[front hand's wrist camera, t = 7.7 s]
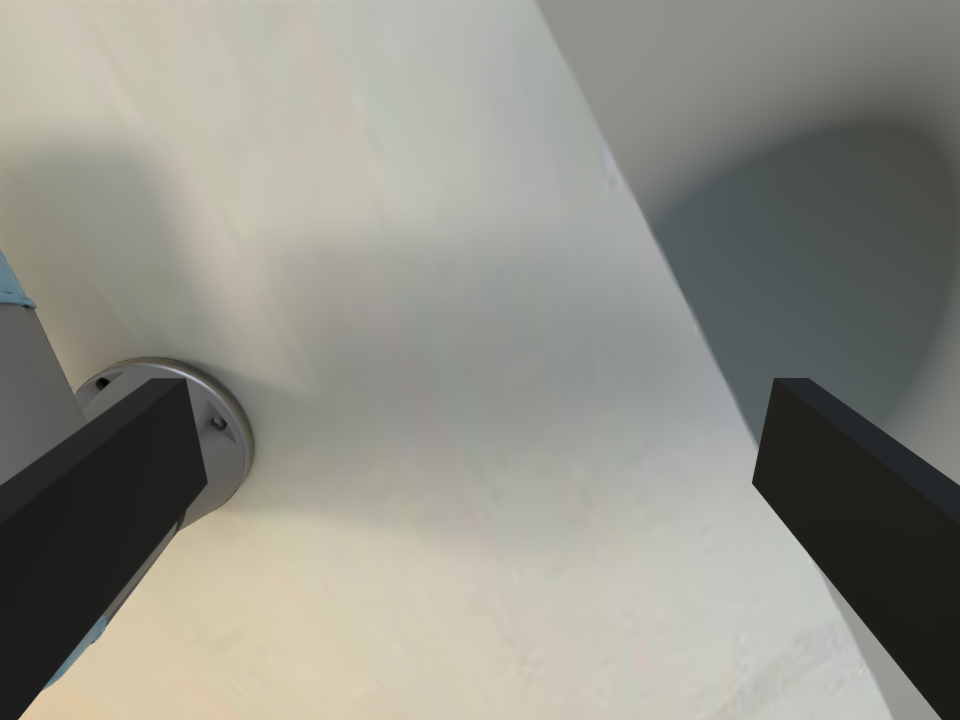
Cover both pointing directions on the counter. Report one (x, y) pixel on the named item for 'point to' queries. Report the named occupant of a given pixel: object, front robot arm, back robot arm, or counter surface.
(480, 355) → the counter surface
